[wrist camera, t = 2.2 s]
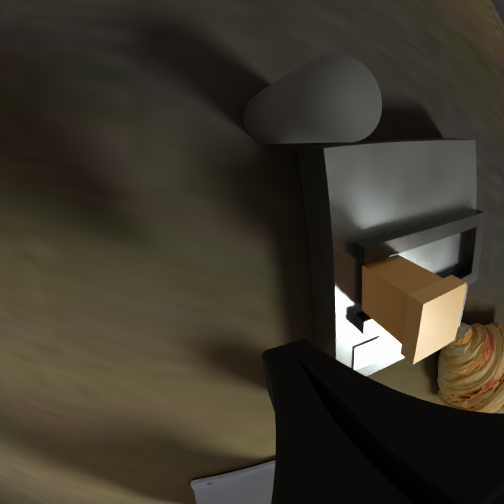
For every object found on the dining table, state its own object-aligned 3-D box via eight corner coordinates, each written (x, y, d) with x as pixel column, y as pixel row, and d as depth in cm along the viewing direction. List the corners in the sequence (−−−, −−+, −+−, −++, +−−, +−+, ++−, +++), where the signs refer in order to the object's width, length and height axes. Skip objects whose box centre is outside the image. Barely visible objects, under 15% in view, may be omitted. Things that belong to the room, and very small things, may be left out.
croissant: (390, 332, 23) (408, 419, 17) (488, 264, 18) (533, 349, 12) (460, 384, 31) (472, 436, 25) (521, 346, 26) (540, 397, 20)
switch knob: (357, 315, 13) (412, 364, 9) (358, 262, 12) (423, 304, 9) (398, 299, 14) (454, 339, 10) (401, 249, 13) (466, 282, 9)
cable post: (247, 148, 12) (310, 146, 7) (238, 93, 12) (294, 52, 6) (300, 140, 13) (386, 139, 7) (291, 89, 12) (374, 56, 7)
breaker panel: (316, 363, 17) (342, 398, 14) (297, 148, 13) (334, 148, 10) (436, 310, 19) (467, 331, 16) (443, 137, 15) (486, 141, 12)
